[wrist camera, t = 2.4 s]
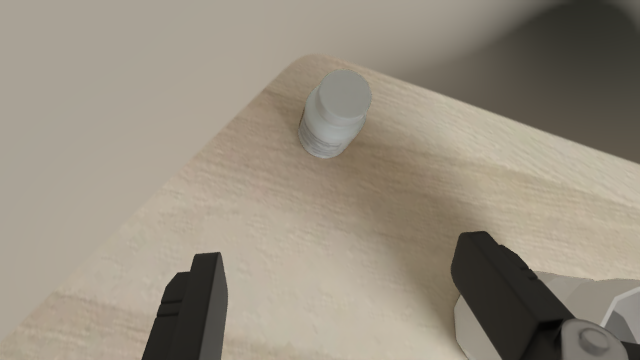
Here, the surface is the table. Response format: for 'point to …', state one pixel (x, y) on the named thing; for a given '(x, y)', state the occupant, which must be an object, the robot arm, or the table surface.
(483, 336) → the vase
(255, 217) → the table surface
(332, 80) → the pill bottle
